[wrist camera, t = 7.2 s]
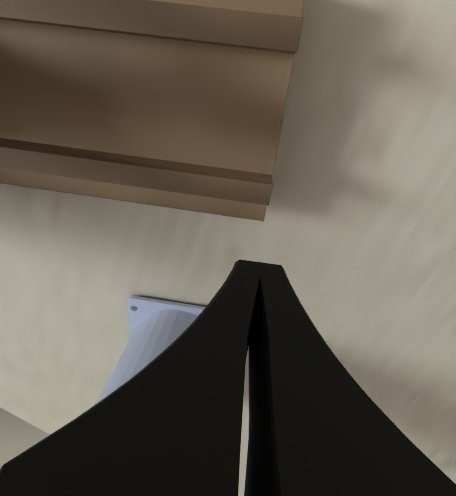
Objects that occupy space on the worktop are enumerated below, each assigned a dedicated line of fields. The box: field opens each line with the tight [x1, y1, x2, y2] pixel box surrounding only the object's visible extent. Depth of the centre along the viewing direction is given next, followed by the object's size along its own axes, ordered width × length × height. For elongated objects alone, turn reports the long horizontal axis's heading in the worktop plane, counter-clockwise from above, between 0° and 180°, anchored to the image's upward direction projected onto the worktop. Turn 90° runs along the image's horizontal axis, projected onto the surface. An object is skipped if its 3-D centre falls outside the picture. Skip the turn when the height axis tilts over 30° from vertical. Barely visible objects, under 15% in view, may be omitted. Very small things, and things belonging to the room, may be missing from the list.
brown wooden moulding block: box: [0, 0, 304, 221], centre depth 15 cm, size 10×18×4 cm, turn 84°
